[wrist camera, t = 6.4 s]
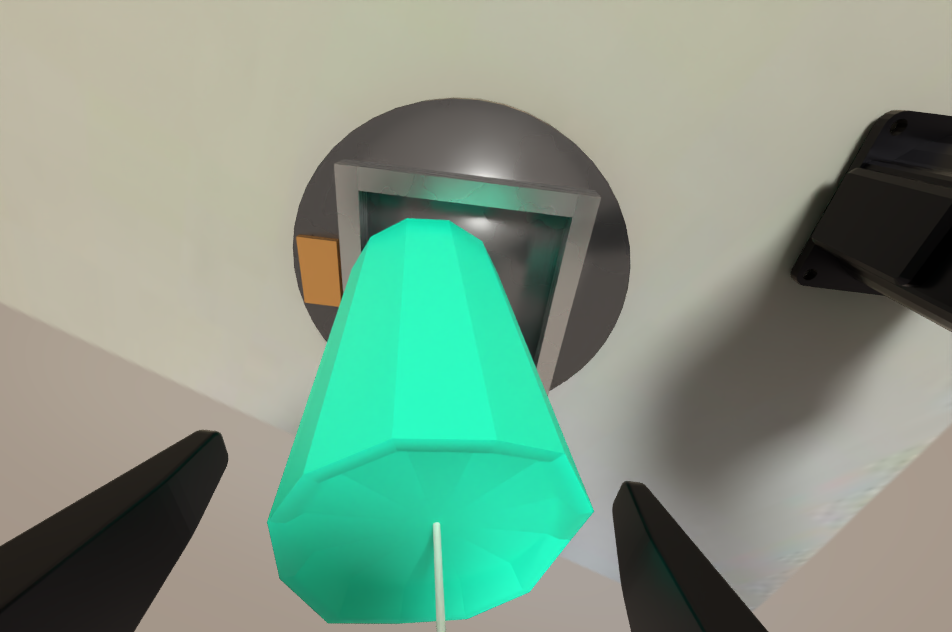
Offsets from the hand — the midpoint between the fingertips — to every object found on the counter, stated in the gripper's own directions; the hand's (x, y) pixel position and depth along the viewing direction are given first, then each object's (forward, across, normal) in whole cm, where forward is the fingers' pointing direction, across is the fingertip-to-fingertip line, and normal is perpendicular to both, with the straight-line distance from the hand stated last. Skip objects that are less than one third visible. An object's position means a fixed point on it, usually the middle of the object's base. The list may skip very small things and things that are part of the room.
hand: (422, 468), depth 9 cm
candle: (+9, +1, 0) cm, 9 cm away
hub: (+10, 0, 0) cm, 10 cm away
